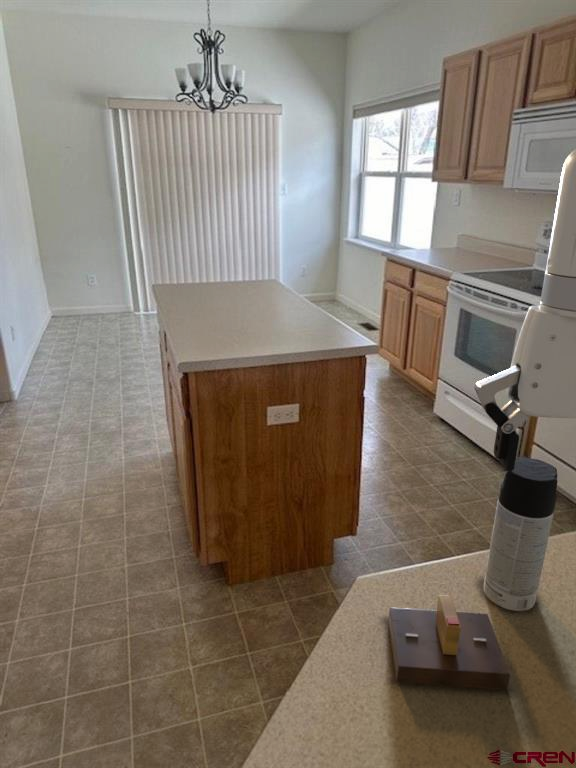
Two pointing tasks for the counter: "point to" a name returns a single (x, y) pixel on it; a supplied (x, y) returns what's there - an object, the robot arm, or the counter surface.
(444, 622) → the block
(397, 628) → the plate
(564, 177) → the robot arm
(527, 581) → the spray can
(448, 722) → the counter surface
